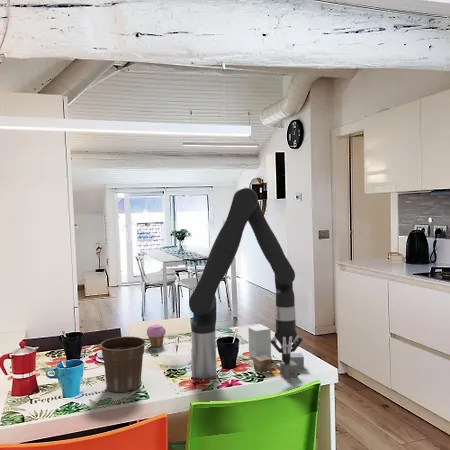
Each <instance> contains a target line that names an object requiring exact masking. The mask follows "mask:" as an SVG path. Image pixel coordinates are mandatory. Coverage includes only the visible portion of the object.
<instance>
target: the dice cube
mask: <svg viewBox="0 0 450 450" xmlns="http://www.w3.org/2000/svg"><path fill="white" fill-rule="evenodd" d="M279 366H280V367H279V375H280V376H281V375H282V376H283V377H284V378H283V377H282V376H281V377H282V378H283V379H284V380H292V379H291V378H293V379H298V378H299V370H298V365H297V364H296V363H295V362H293V361H290V362H289V363H287V364H285V363H284V362H283V361H280V362H279Z"/></svg>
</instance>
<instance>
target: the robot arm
mask: <svg viewBox="0 0 450 450" xmlns="http://www.w3.org/2000/svg"><path fill="white" fill-rule="evenodd" d="M225 219H226V220H225V221H224V223H223V225H222V227H221V228H220V230H219V232H218V234H217V236H216V238H215V240H214V242H213V244H212V245H211V246H212V247H211V250H210V251H209V254H208V256H207V258H206V263H205V264H204V268H203V271H202V274H201V276H200V278H199V281H198V282H197V285H196V287H195V288H194V290H193V291H192V293H191V295H190V297H189V300H188V308H189V310H190V311H191V313H193V314H192V322H191V348H190V351H191V353H190V354H191V374H192V378H193V379H201V380H204V379H207V380H208V379H211V378H214V377H216V376H217V345H216V343H217V341H216V340H217V339H216V337H217V336H216V334H217V333H216V325H217V296H216V293H217V291H218V289H219V286H220V284H221V282H222V280H223V278H224V277H225V275H226V274H227V272H228V271H229V269H230V267H231V266H232V263H233V262H234V259H235V257H236V255H237V252H238V250H239V247H240V244H241V241H242V237H243V235H244V234H243V233H244V230H245V227H246V225H247V223H248V224H249V225H250V227H251V229H252V232H253V234H254V237H255V239H256V241H257V244H258V245H259V248H260V250H261V252H262V254H263V256H264V257H265V259H266V261H267V262H268V264H269V265H270V267H271V269H272V271H273V273H274V285H275V310H274V312H275V315H274V316H275V332H274V336H273V337H272V338H271V339H269V341H270V342H271V346H273V347H274V349H275V350H276V351H278V353H279V354H281V362H284V363H285V364H287V363H289V362H290V353H295V351H296V350H297V349H298V348H299V346H300V345H301V343H302V342H303V338H302V337H301V336H299V335H298V333H297V332H296V329H297V328H296V327H297V325H296V323H297V322H296V321H297V320H296V319H297V318H296V317H297V316H296V308H295V307H296V306H295V291H294V290H293V289H294V287H293V284H294V283H293V282H294V280H295V279H296V272H295V270H294V268H293V266H292V265H291V263H290V261H289V260H288V258H287V257H286V255H285V253H284V249H283V248H282V246H281V244H280V243H279V240H278V238H277V237H276V235H275V234H274V232H273V230H272V228H271V226H270V225H269V223H268V221H267V219H266V218H265V215H264V213H263V211H262V207H261V204H260V201H259V197H258V193H257V192H256V191H255V190H254V189H252V188H249V187H241V188H239V189H237V190H236V192H235V193H234V194H233V196H232V201H231V204H230V208H229V211H228V214H227V216H226V218H225ZM277 341H278V342H277ZM277 343H279V344H280V346H279V345H278V344H277Z"/></svg>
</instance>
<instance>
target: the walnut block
mask: <svg viewBox="0 0 450 450" xmlns="http://www.w3.org/2000/svg"><path fill="white" fill-rule="evenodd" d="M254 369H255V370H254ZM253 370H254V371H255V372H257V371H258V372H257V373H259V372H260V373H261V374H264V373H263V372H266V373H268V372H267V371H271V372H272V357H271V358H269V357H267V356H265V355H263V356H257V357H254V359H253ZM260 373H259V374H260Z"/></svg>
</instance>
